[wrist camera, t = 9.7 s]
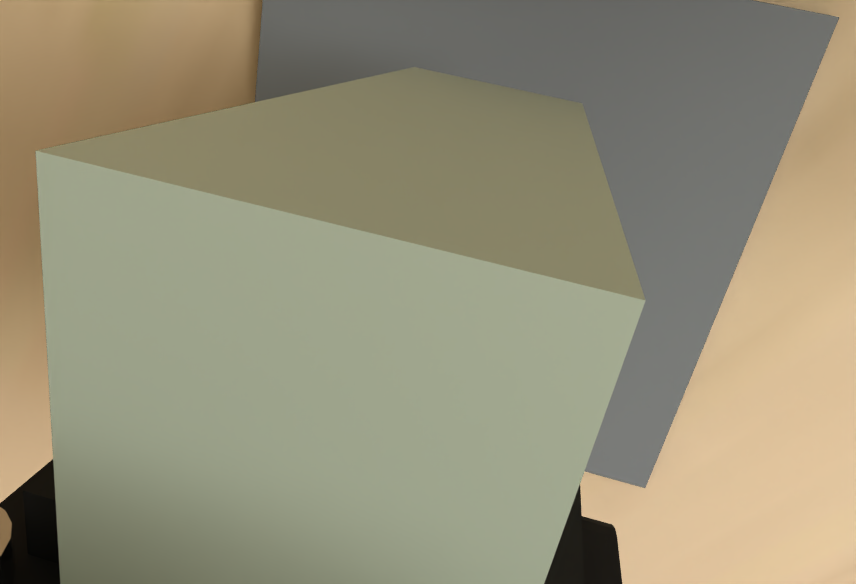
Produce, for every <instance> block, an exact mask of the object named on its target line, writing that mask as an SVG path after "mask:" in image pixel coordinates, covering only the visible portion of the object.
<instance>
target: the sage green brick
mask: <svg viewBox="0 0 856 584" xmlns="http://www.w3.org/2000/svg"><path fill="white" fill-rule="evenodd" d="M36 168H37V185H38V203H39V220H40V237H41V255H42V272H43V290H44V307H45V325H46V342H47V360H48V377H49V394H50V412H51V429H52V447H53V464H54V482H55V499H56V516H57V534H58V551H59V569H60V584H544V583H545V580H546V577H547V574H548V572H549V569H550V566H551V563H552V560H553V558H554V555H555V552H556V549H557V546H558V544H559V541H560V538H561V535H562V532H563V530H564V527H565V524H566V521H567V518H568V516H569V513H570V510H571V507H572V505H573V502H574V499H575V496H576V493H577V491H578V488H579V485H580V482H581V479H582V477H583V474H584V471H585V468H586V465H587V463H588V460H589V457H590V454H591V452H592V449H593V446H594V443H595V440H596V438H597V435H598V432H599V429H600V426H601V424H602V421H603V418H604V415H605V412H606V410H607V407H608V404H609V401H610V398H611V396H612V393H613V390H614V387H615V385H616V382H617V379H618V376H619V373H620V371H621V368H622V365H623V362H624V359H625V357H626V354H627V351H628V348H629V345H630V343H631V340H632V337H633V334H634V331H635V329H636V326H637V323H638V320H639V318H640V315H641V312H642V309H643V306H644V304H645V301H646V300H645V297H644V294H643V291H642V288H641V285H640V281H639V278H638V275H637V272H636V269H635V266H634V263H633V260H632V257H631V253H630V250H629V247H628V244H627V241H626V238H625V235H624V232H623V229H622V225H621V222H620V219H619V216H618V213H617V210H616V207H615V204H614V201H613V197H612V194H611V191H610V188H609V185H608V182H607V179H606V176H605V173H604V169H603V166H602V163H601V160H600V157H599V154H598V151H597V148H596V145H595V141H594V138H593V135H592V132H591V129H590V126H589V123H588V120H587V117H586V113H585V110H584V107H583V104H582V103H578V102H573V101H569V100H564V99H560V98H555V97H550V96H546V95H541V94H537V93H532V92H527V91H523V90H518V89H513V88H509V87H504V86H500V85H495V84H490V83H486V82H481V81H477V80H472V79H467V78H463V77H458V76H454V75H449V74H444V73H440V72H435V71H430V70H426V69H421V68H417V67H412V68H408V69H403V70H399V71H394V72H390V73H385V74H380V75H376V76H371V77H367V78H362V79H358V80H353V81H349V82H344V83H340V84H335V85H331V86H326V87H322V88H317V89H313V90H308V91H304V92H299V93H294V94H290V95H285V96H281V97H276V98H272V99H267V100H263V101H258V102H254V103H249V104H245V105H240V106H236V107H231V108H227V109H222V110H217V111H213V112H208V113H204V114H199V115H195V116H190V117H186V118H181V119H177V120H172V121H168V122H163V123H159V124H154V125H150V126H145V127H140V128H136V129H131V130H127V131H122V132H118V133H113V134H109V135H104V136H100V137H95V138H91V139H86V140H82V141H77V142H73V143H68V144H64V145H59V146H54V147H50V148H45V149H41V150H36Z"/></svg>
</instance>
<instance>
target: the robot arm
mask: <svg viewBox="0 0 856 584" xmlns="http://www.w3.org/2000/svg"><path fill="white" fill-rule="evenodd" d="M0 584H60V569H59V551H58V534H57V516H56V499H55V482H54V464H53V460H51V461H50V462H49V463H48V464H47V465H45V466H44V467H43V468H42V469H41V470H40V471H38V472H37V473H36V474H35V475H34V476H32V477H31V478H30V479H29V480H28V481H26V482H25V483H24V484H23V485H22V486H20V487H19V488H18V489H17V490H16V491H14V492H13V493H12V494H11V495H10V496H8V497H7V498H6V499H5V500H4V501H2V502H1V503H0ZM544 584H622V578H621V569H620V560H619V551H618V542H617V535H616V531H615V528H614V527H613V525H611V524H608V523H604V522H601V521H597V520H594V519H590V518H586V517H583V516H581V495H580V485H579V488H578V491H577V493H576V496H575V499H574V502H573V505H572V507H571V510H570V513H569V516H568V518H567V521H566V524H565V527H564V530H563V532H562V535H561V538H560V541H559V544H558V546H557V549H556V552H555V555H554V558H553V560H552V563H551V566H550V569H549V572H548V574H547V577H546V580H545V583H544Z"/></svg>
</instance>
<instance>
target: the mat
mask: <svg viewBox="0 0 856 584" xmlns="http://www.w3.org/2000/svg"><path fill="white" fill-rule="evenodd" d="M838 19H839V17H836V16H830V15H825V14H820V13H815V12H810V11H805V10H800V9H795V8H789V7H784V6H779V5H774V4H769V3H764V2H759V1H753V0H263V4H262V17H261V30H260V43H259V56H258V69H257V82H256V95H255V102H258V101H263V100H267V99H272V98H276V97H281V96H285V95H290V94H294V93H299V92H304V91H308V90H313V89H317V88H322V87H326V86H331V85H335V84H340V83H344V82H349V81H353V80H358V79H362V78H367V77H371V76H376V75H380V74H385V73H390V72H394V71H399V70H403V69H408V68H412V67H417V68H421V69H426V70H430V71H435V72H440V73H444V74H449V75H454V76H458V77H463V78H467V79H472V80H477V81H481V82H486V83H490V84H495V85H500V86H504V87H509V88H513V89H518V90H523V91H527V92H532V93H537V94H541V95H546V96H550V97H555V98H560V99H564V100H569V101H573V102H578V103H582V104H583V107H584V110H585V113H586V117H587V120H588V123H589V126H590V129H591V132H592V135H593V138H594V141H595V145H596V148H597V151H598V154H599V157H600V160H601V163H602V166H603V169H604V173H605V176H606V179H607V182H608V185H609V188H610V191H611V194H612V197H613V201H614V204H615V207H616V210H617V213H618V216H619V219H620V222H621V225H622V229H623V232H624V235H625V238H626V241H627V244H628V247H629V250H630V253H631V257H632V260H633V263H634V266H635V269H636V272H637V275H638V278H639V281H640V285H641V288H642V291H643V294H644V297H645V300H646V301H645V304H644V306H643V309H642V312H641V315H640V318H639V320H638V323H637V326H636V329H635V331H634V334H633V337H632V340H631V343H630V345H629V348H628V351H627V354H626V357H625V359H624V362H623V365H622V368H621V371H620V373H619V376H618V379H617V382H616V385H615V387H614V390H613V393H612V396H611V398H610V401H609V404H608V407H607V410H606V412H605V415H604V418H603V421H602V424H601V426H600V429H599V432H598V435H597V438H596V440H595V443H594V446H593V449H592V452H591V454H590V457H589V460H588V463H587V465H586V468H585V472H589V473H593V474H596V475H600V476H603V477H607V478H611V479H614V480H618V481H621V482H625V483H629V484H632V485H636V486H639V487H643V488H645V487H646V485H647V482H648V480H649V478H650V475H651V473H652V470H653V468H654V465H655V463H656V461H657V458H658V456H659V453H660V451H661V448H662V446H663V444H664V441H665V439H666V436H667V434H668V431H669V429H670V427H671V424H672V422H673V419H674V417H675V414H676V412H677V410H678V407H679V405H680V402H681V400H682V398H683V395H684V393H685V390H686V388H687V385H688V383H689V381H690V378H691V376H692V373H693V371H694V368H695V366H696V364H697V361H698V359H699V356H700V354H701V351H702V349H703V347H704V344H705V342H706V339H707V337H708V334H709V332H710V330H711V327H712V325H713V322H714V320H715V318H716V315H717V313H718V310H719V308H720V305H721V303H722V301H723V298H724V296H725V293H726V291H727V288H728V286H729V284H730V281H731V279H732V276H733V274H734V271H735V269H736V267H737V264H738V262H739V259H740V257H741V255H742V252H743V250H744V247H745V245H746V242H747V240H748V238H749V235H750V233H751V230H752V228H753V225H754V223H755V221H756V218H757V216H758V213H759V211H760V208H761V206H762V204H763V201H764V199H765V196H766V194H767V191H768V189H769V187H770V184H771V182H772V179H773V177H774V175H775V172H776V170H777V167H778V165H779V162H780V160H781V158H782V155H783V153H784V150H785V148H786V145H787V143H788V141H789V138H790V136H791V133H792V131H793V128H794V126H795V124H796V121H797V119H798V116H799V114H800V111H801V109H802V107H803V104H804V102H805V99H806V97H807V95H808V92H809V90H810V87H811V85H812V82H813V80H814V78H815V75H816V73H817V70H818V68H819V65H820V63H821V61H822V58H823V56H824V53H825V51H826V48H827V46H828V44H829V41H830V39H831V36H832V34H833V32H834V29H835V27H836V24H837V22H838Z"/></svg>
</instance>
